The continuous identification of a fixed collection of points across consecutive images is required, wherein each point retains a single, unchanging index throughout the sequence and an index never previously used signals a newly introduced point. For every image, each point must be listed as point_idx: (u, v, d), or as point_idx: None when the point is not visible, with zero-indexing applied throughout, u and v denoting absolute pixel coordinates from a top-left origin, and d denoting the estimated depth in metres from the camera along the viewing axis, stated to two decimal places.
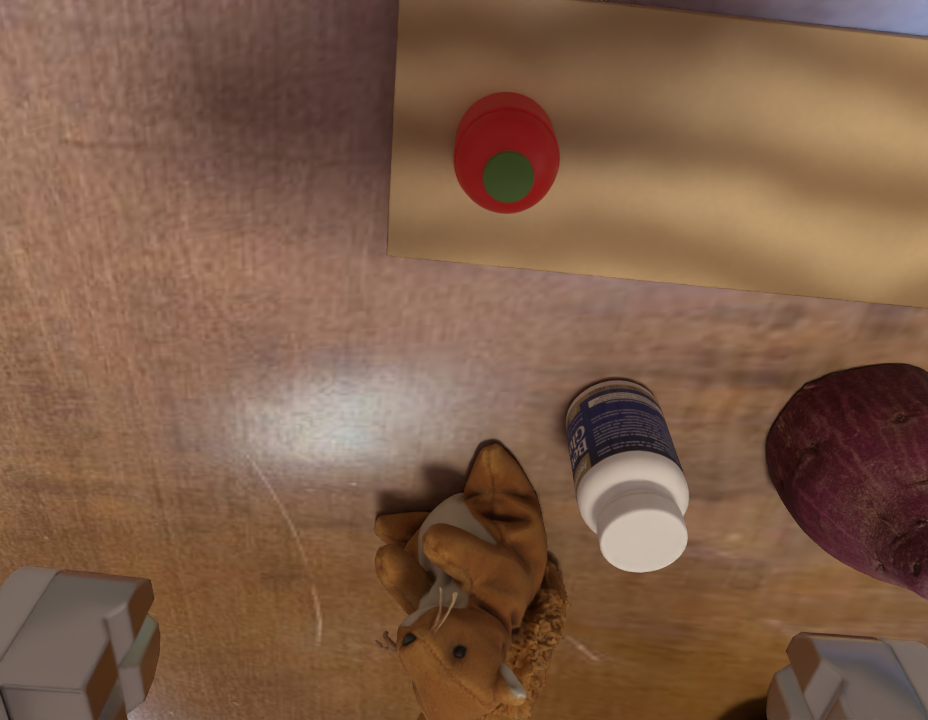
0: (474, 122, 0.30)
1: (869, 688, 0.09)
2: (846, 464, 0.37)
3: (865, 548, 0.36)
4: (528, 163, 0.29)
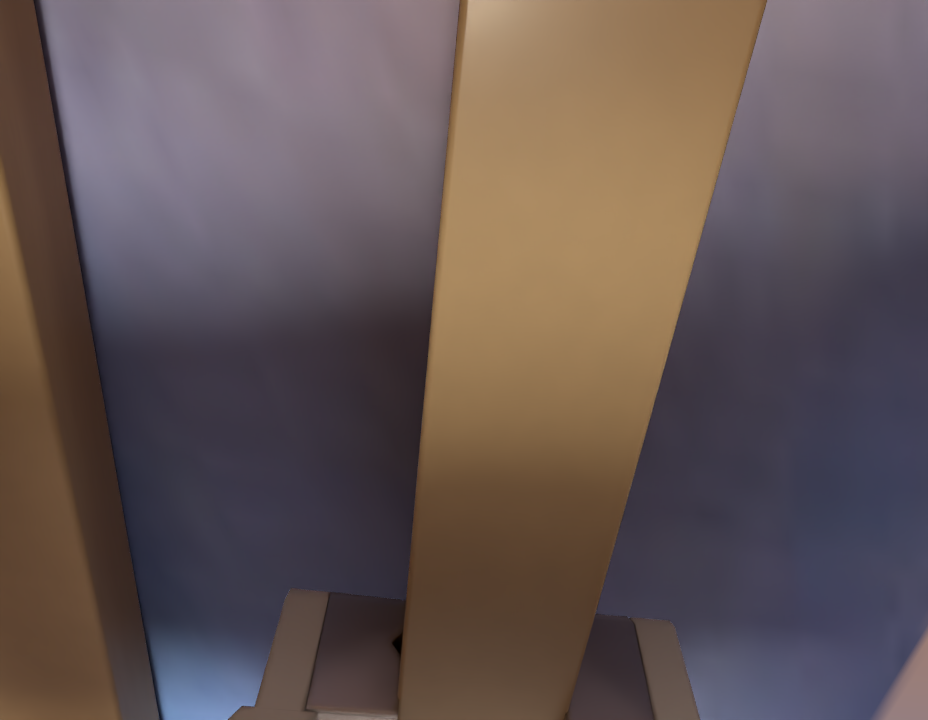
0: None
1: (596, 665, 0.08)
2: None
3: None
4: None
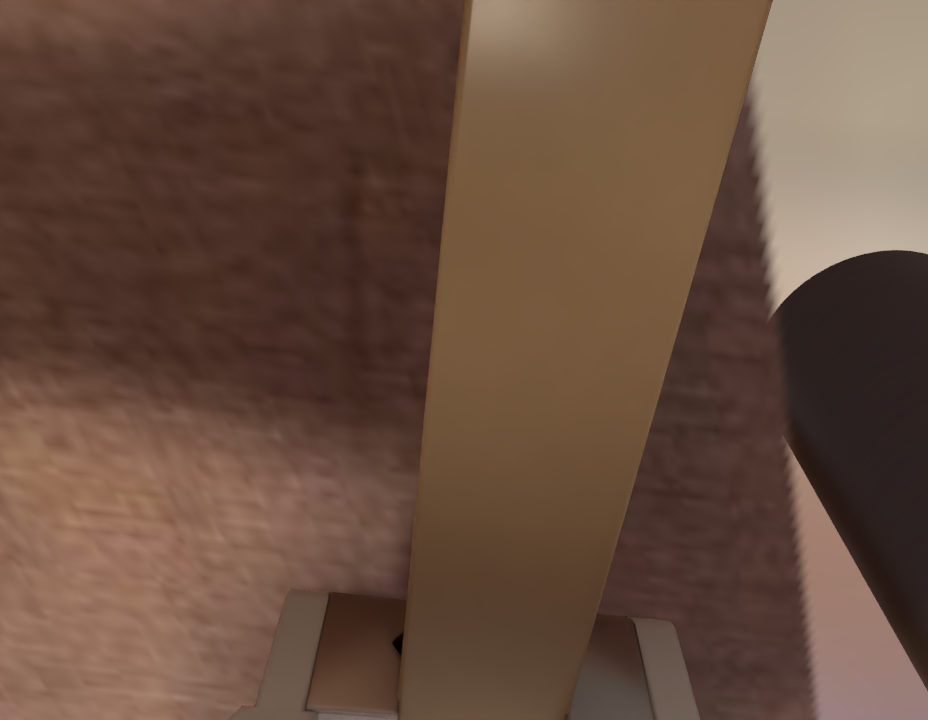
0: None
1: (596, 665, 0.08)
2: None
3: None
4: None
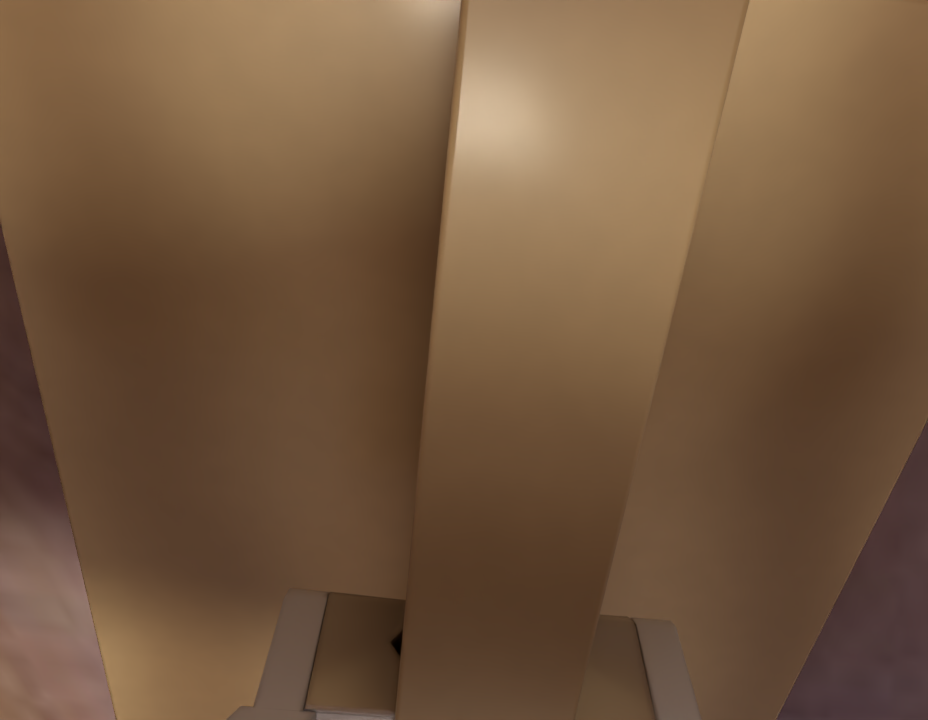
0: None
1: (598, 665, 0.08)
2: None
3: None
4: None
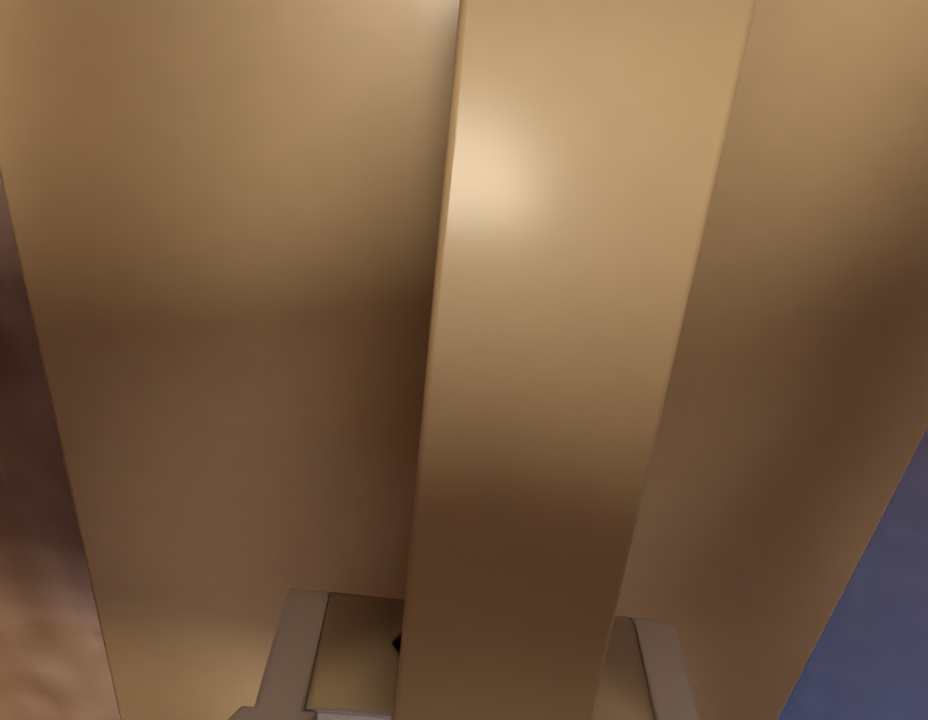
0: None
1: None
2: None
3: None
4: None
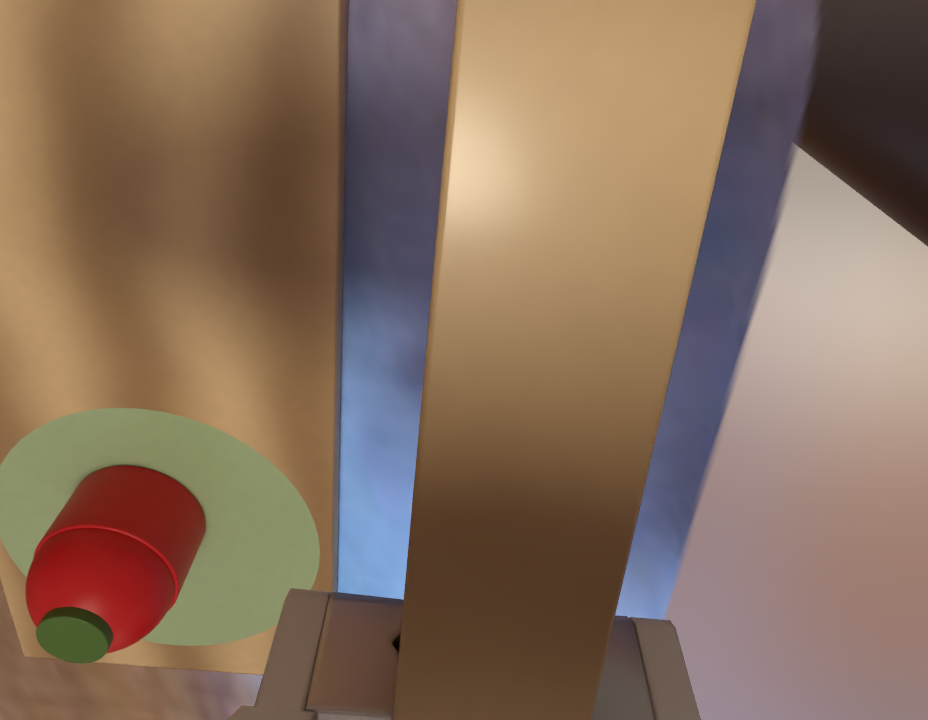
0: (148, 554, 0.23)
1: None
2: None
3: None
4: (98, 658, 0.22)
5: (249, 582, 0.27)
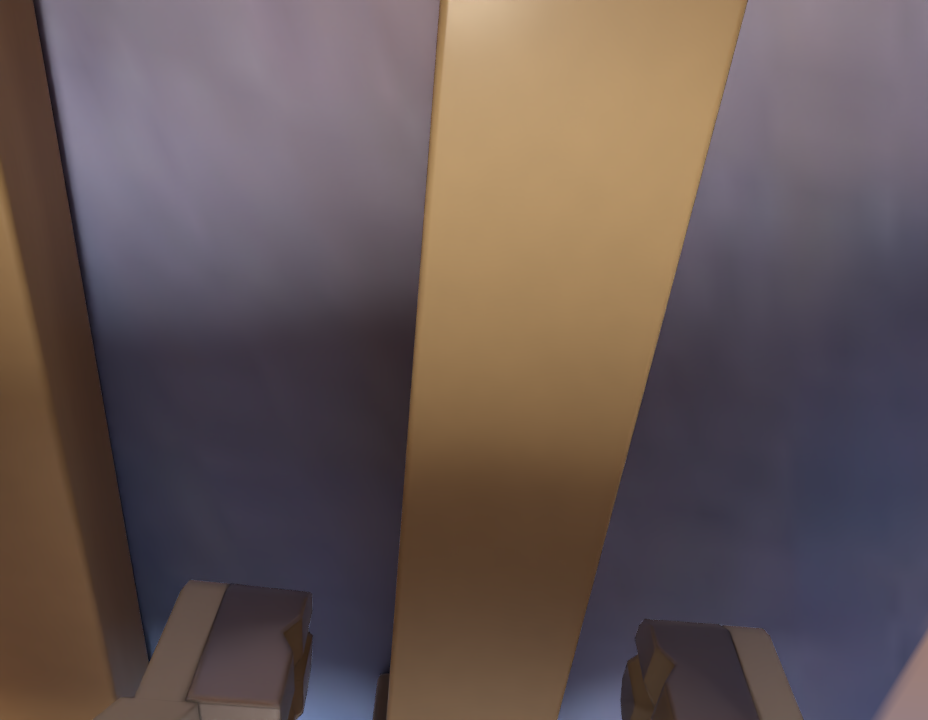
0: None
1: (698, 674, 0.09)
2: None
3: None
4: None
5: None
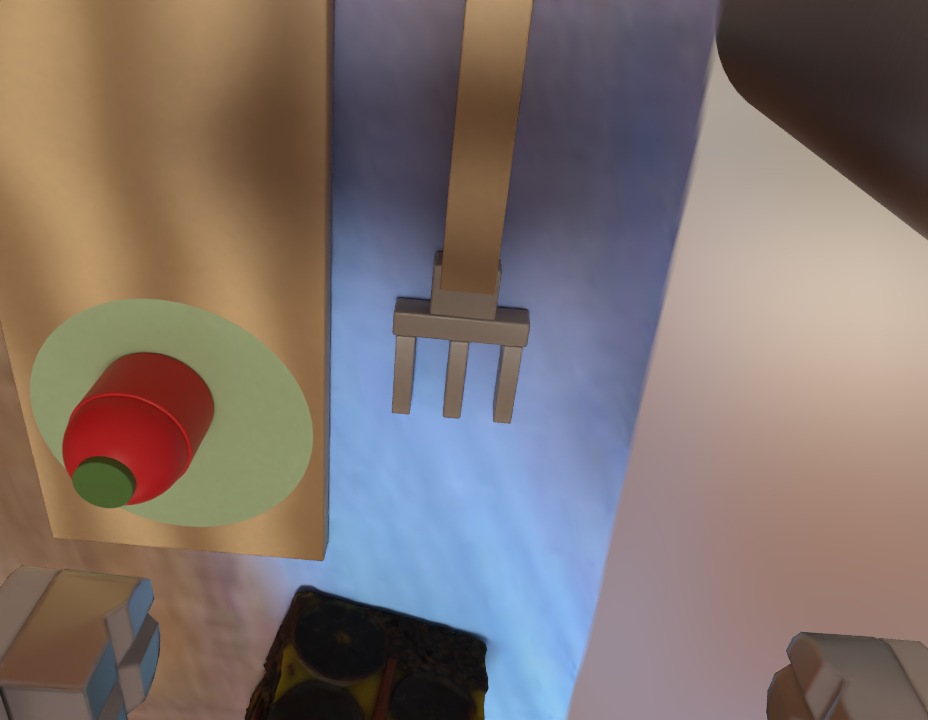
0: (166, 419, 0.27)
1: (869, 688, 0.09)
2: None
3: None
4: (124, 503, 0.26)
5: (251, 464, 0.31)
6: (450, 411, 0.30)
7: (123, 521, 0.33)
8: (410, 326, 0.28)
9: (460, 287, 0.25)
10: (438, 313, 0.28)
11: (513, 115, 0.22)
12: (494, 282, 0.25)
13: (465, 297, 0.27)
